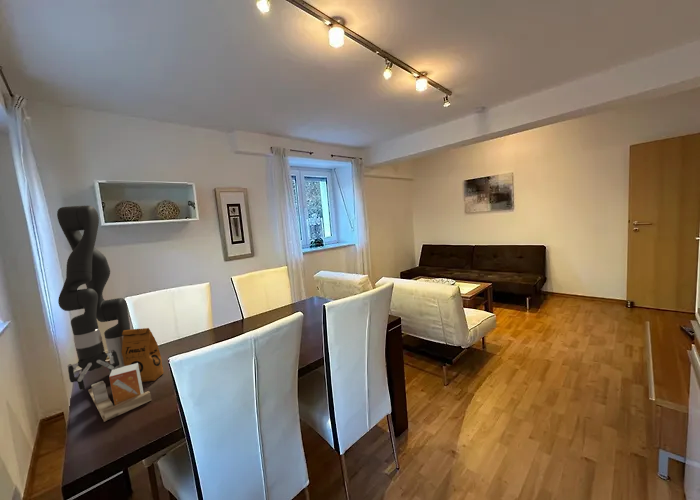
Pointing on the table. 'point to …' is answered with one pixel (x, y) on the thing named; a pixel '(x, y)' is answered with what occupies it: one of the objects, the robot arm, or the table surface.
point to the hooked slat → (105, 404)
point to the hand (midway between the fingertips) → (98, 383)
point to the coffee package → (142, 353)
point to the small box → (125, 383)
